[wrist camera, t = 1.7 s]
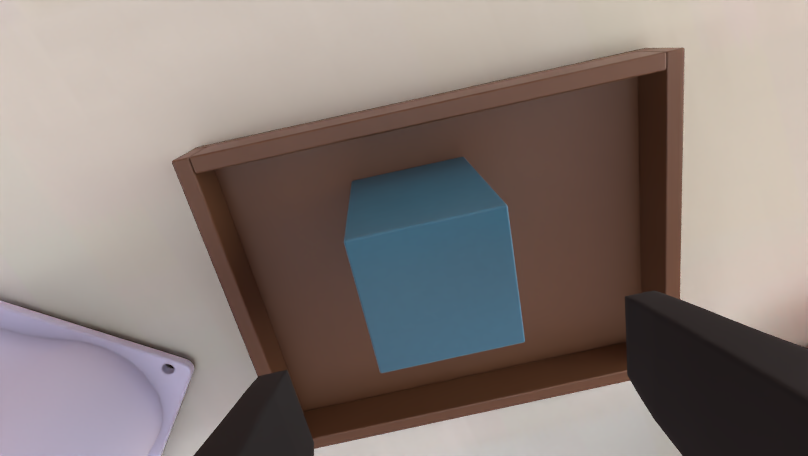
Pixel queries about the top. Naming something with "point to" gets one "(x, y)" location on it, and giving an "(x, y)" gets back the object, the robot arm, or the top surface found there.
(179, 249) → the top surface
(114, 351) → the robot arm
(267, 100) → the top surface
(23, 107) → the top surface
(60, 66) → the top surface
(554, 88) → the tray
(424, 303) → the block
